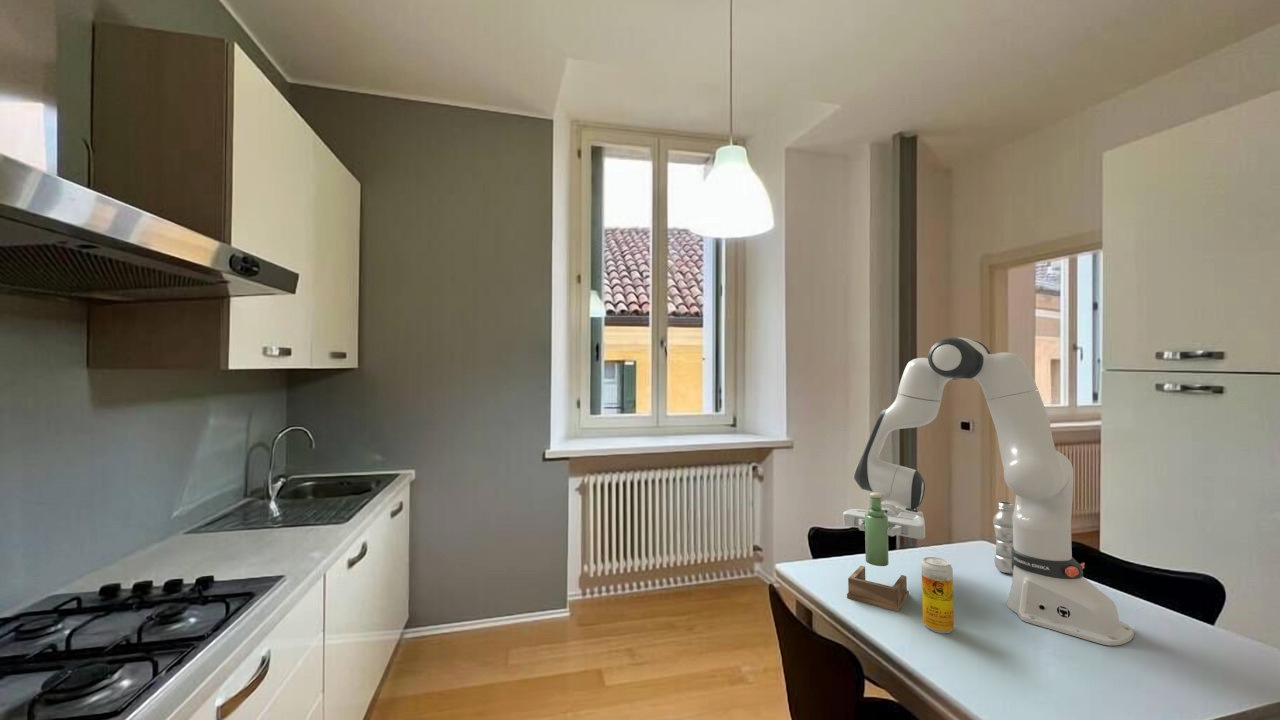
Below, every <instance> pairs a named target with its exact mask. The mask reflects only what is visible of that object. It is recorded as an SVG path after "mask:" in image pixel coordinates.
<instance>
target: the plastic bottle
mask: <svg viewBox="0 0 1280 720" xmlns="http://www.w3.org/2000/svg"><path fill="white" fill-rule="evenodd" d="M1014 507H1015V502H1010V501H999V502H998V507H997V509H999V510H998V511H997V512H996V514H994V516H993V519H992V523H993V528H994V531H995V533H994V534H995V540H996V541H995V543H996V544H995V545H996V546H995V554H994V566H995V568H996V569H997V570H998V571H999V572H1002V573H1005V574H1009V575H1013V569H1012V563H1011V549H1012V547H1013V512H1014Z"/></svg>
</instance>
